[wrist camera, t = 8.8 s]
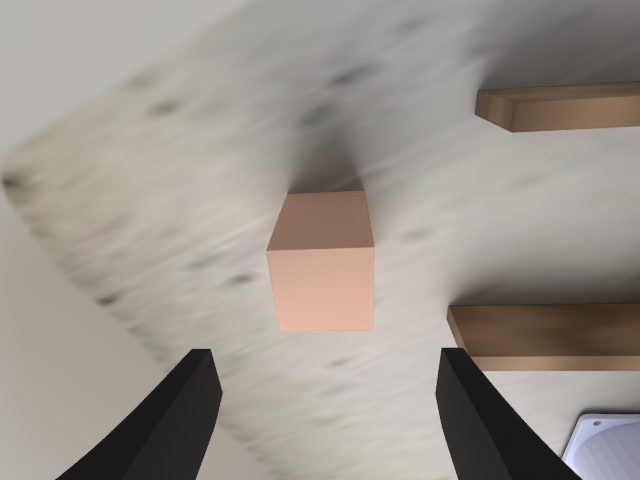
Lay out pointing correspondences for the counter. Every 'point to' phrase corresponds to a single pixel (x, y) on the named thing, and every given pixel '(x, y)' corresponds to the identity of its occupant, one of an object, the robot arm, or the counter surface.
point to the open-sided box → (563, 319)
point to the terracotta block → (323, 263)
